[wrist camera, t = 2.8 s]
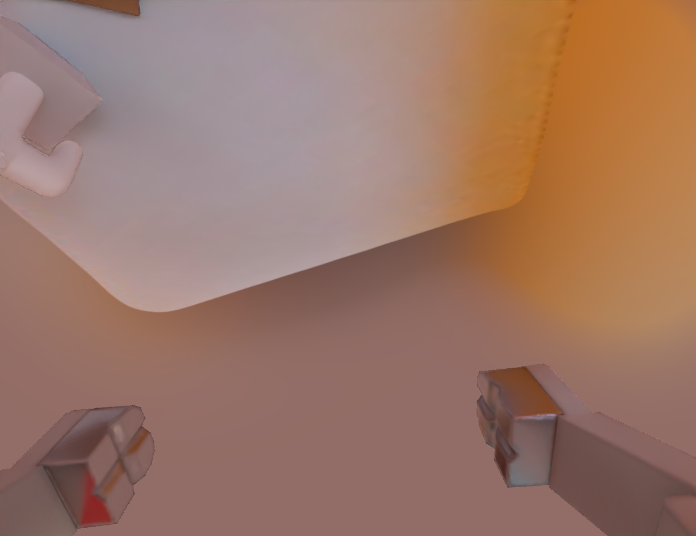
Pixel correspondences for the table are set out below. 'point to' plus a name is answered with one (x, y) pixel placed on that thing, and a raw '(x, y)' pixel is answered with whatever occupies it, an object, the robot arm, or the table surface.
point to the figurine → (39, 112)
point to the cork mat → (115, 5)
